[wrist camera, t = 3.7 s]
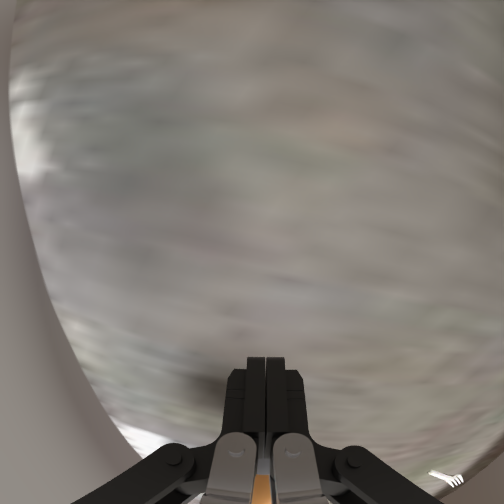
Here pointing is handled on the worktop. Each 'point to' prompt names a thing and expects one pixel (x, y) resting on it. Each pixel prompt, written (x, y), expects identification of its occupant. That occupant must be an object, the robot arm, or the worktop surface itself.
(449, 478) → the fork
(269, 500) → the object ball
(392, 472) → the robot arm
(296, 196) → the worktop surface
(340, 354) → the worktop surface
